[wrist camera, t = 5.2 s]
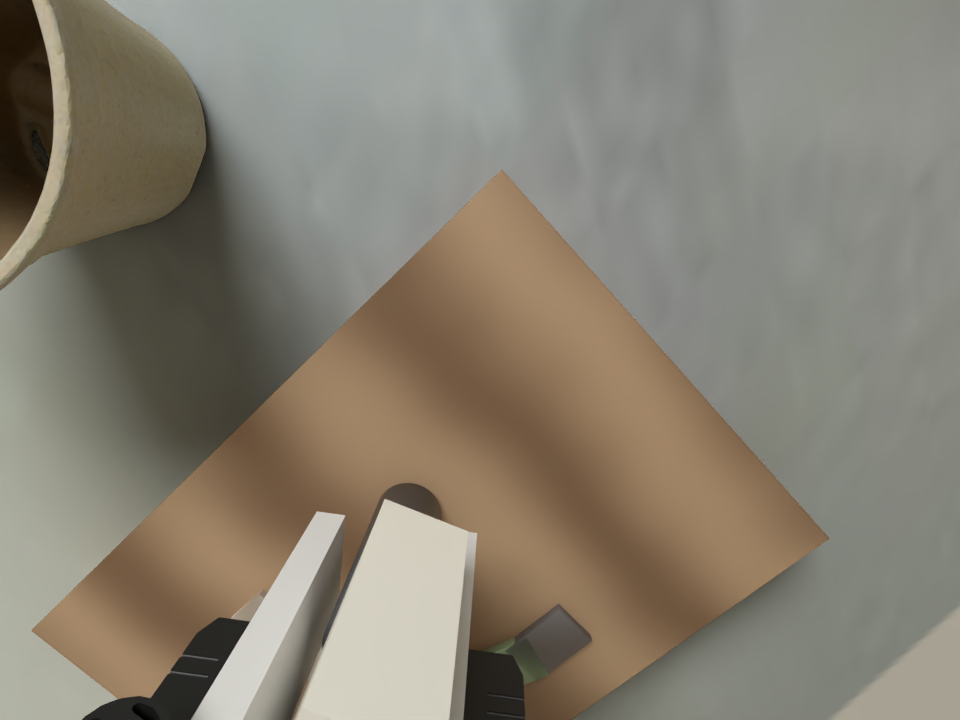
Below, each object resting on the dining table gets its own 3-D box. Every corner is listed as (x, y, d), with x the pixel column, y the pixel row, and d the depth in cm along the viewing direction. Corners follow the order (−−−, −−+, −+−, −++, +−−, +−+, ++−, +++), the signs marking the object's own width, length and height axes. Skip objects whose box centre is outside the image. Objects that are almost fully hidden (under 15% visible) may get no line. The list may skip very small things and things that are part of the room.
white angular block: (419, 402, 17) (292, 704, 7) (482, 427, 17) (452, 762, 7) (304, 682, 20) (87, 1205, 9) (359, 702, 20) (204, 1239, 10)
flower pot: (322, 141, 18) (175, 88, 10) (134, 331, 20) (-121, 419, 12) (94, -116, 17) (-303, -430, 9) (-88, 115, 19) (-561, 42, 10)
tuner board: (501, 175, 19) (501, 168, 15) (784, 492, 21) (834, 543, 18) (90, 576, 23) (24, 636, 20) (363, 801, 25) (343, 886, 22)
